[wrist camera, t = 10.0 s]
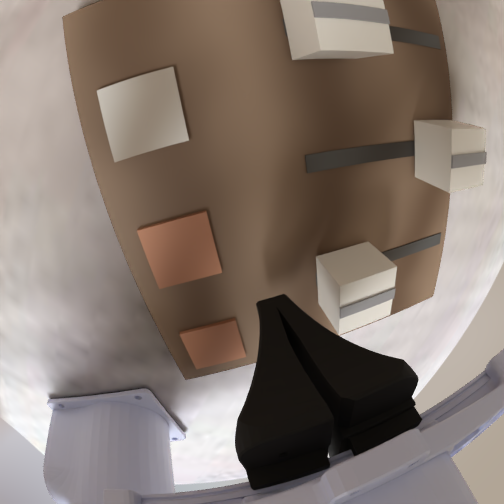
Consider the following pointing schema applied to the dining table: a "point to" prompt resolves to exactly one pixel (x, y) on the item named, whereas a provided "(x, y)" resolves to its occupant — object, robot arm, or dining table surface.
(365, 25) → the slider
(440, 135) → the slider middle
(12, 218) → the dining table surface
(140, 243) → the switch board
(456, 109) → the dining table surface
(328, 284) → the slider
